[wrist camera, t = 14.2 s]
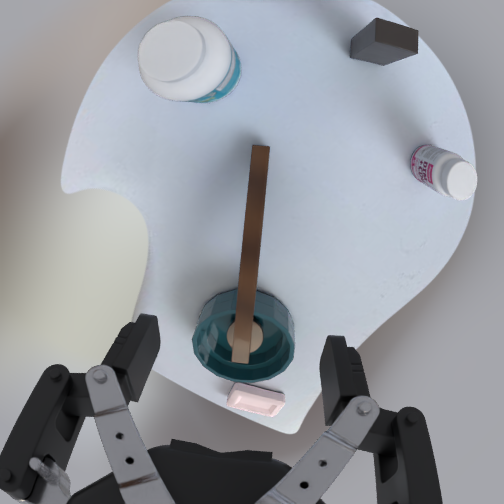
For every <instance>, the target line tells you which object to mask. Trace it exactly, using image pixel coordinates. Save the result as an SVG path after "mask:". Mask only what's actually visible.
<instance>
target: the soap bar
mask: <svg viewBox="0 0 504 504" xmlns="http://www.w3.org/2000/svg"><path fill="white" fill-rule="evenodd" d="M284 404H285V395H284V394H282V393H277V392H273V391H269V390H265V389H261V388H257V387H254V386H250V385H246V384H243V383H239V382H238V383H235V384H234V386H233V388H232V390H231V392H230V393H229V395H228V398H227V406H229V407H233V408H236V409H240V410H244V411H248V412H252V413H257V414H261V415H265V416H270V417H274V416H276V414H277V413H278V412H279V411H280V409H281V408H282V407H283V406H284Z"/></svg>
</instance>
